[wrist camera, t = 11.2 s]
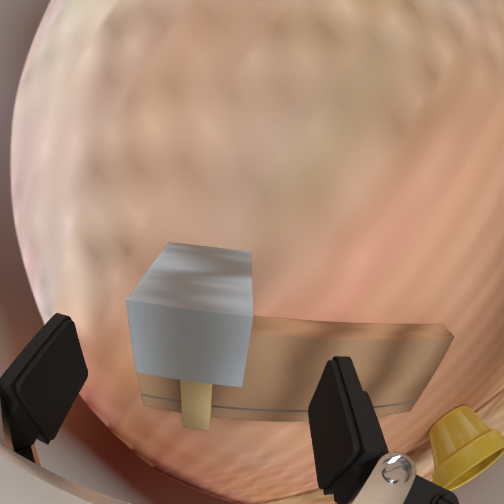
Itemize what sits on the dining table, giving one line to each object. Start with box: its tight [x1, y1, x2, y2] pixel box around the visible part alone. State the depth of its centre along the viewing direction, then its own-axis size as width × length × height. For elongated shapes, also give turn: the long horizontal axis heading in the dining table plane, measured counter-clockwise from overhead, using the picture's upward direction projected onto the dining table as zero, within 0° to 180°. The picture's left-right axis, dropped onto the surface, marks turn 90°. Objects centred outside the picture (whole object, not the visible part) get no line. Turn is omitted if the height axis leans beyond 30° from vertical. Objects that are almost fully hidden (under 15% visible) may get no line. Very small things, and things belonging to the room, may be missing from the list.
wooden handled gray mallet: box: [127, 242, 253, 431], centre depth 16 cm, size 5×13×7 cm, turn 173°
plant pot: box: [429, 405, 504, 491], centre depth 22 cm, size 10×10×10 cm
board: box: [137, 316, 454, 421], centre depth 20 cm, size 24×9×2 cm, turn 83°
